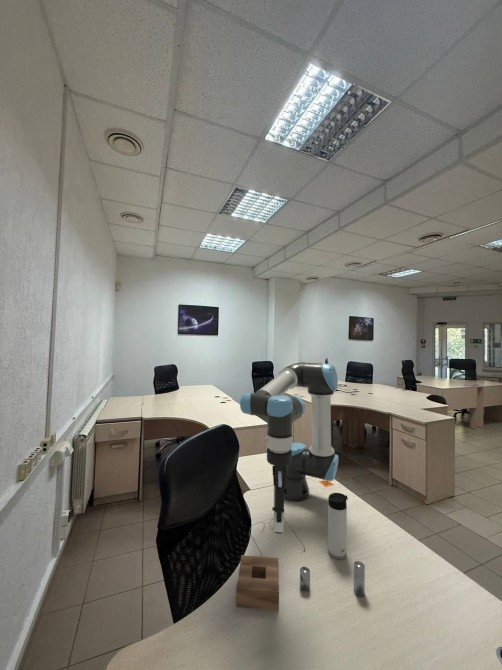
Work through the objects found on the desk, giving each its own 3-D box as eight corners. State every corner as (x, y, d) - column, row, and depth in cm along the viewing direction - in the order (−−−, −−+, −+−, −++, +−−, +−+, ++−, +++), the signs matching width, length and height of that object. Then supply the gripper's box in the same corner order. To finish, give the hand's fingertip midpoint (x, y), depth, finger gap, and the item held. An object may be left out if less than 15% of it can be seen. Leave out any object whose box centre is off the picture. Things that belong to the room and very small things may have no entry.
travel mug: (348, 561, 94) (348, 502, 94) (328, 557, 95) (329, 499, 95) (346, 547, 100) (346, 492, 100) (327, 544, 101) (327, 489, 101)
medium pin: (352, 587, 84) (352, 560, 84) (362, 588, 84) (362, 561, 84) (355, 596, 81) (355, 568, 81) (366, 597, 81) (366, 569, 81)
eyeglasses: (284, 526, 111) (284, 514, 111) (305, 553, 97) (305, 539, 98) (247, 537, 105) (247, 524, 105) (264, 567, 91) (264, 552, 91)
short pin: (299, 582, 85) (299, 566, 85) (309, 583, 85) (309, 567, 85) (300, 591, 82) (300, 574, 82) (310, 592, 82) (310, 575, 82)
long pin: (273, 526, 84) (273, 483, 85) (283, 527, 84) (283, 484, 85) (273, 533, 81) (274, 489, 82) (283, 534, 81) (284, 489, 82)
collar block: (241, 570, 89) (241, 555, 89) (278, 573, 88) (278, 558, 88) (236, 606, 77) (236, 588, 77) (278, 610, 76) (279, 592, 76)
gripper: (266, 438, 92) (266, 509, 91) (266, 459, 76) (265, 546, 75) (289, 439, 91) (288, 511, 91) (294, 460, 75) (293, 547, 75)
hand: (278, 526), depth 83 cm, fingers closed on long pin, 3 cm apart
